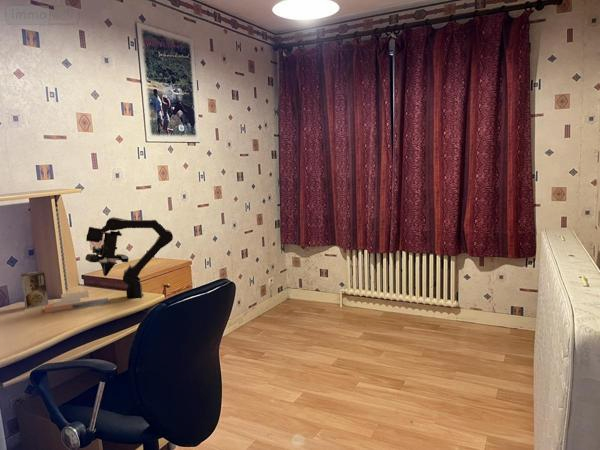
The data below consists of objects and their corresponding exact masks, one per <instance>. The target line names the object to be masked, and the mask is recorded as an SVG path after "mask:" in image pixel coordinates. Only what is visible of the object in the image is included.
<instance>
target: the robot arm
mask: <svg viewBox="0 0 600 450" xmlns="http://www.w3.org/2000/svg"><path fill="white" fill-rule="evenodd" d="M124 229H153V231H154V232H155V233H156V234H157V235H158V237H157V239H156V240H155V241H154V244H153V245H152V246H150V248H149V249H148V250H147V251H146V252H145V253H144V255H143V256H141V258H140V259H139V260H138V261H137V262H136V263H135V264H134V265H131V264H129V265H128V267H127V268H125V270H124V271H123V275H122V281H123V283H124V284H126V285H127V286H126V289H125V290H126V291H125V292H126V293H125V294H126V298H127V299H128V300H129V299H131V300H133V299H142V298H143V297H144V293H143V284H142V283H141V277H139V274H141V271H142V270H143V269H144V268H145V267H146V265H147V264H148V263H149V262H150V261H151V260H152V259H153V258H154V257H155V256H156V255H157V254H158V252H159V251H160V250H162V249H163V248H164V247H166V246H167V245H168V244H170V243H171V242H172V241H173V239H174V236H173V233H172V231H171V230H169V229H165V228H164V226H163V225H161V223H159V222H158V220H156V219H126V218H119V217H115V216H114V217H110V218H108V219H107V221H106V222H105V225H104V226H102V227H101V228H100V227H99V228H97V227H93V226H89V227H88V231H87V234H86V239H85V241H86V242H91V243H98V244H99V243H100V242H103V243H102V244H101V246H100V247H99V246H98V245H96V246H95V245H94V246H93V247H92V253H87V254H86V255H85V261H87V262H89V263H99V264H100V266H101V269H102V274H103V276H104V277H107V276H108V274H109V273H110V272H111V270H112V268H113V267H115V265H117V264H118V263H117V261H120V262H121V263H128V262H129V257H128V256H127V255H126V254H123V253H122V254H120V253H119V254H118V253H117V254H116V250H118V247H117V242H118V237H122V236H123V233H122V232H121V231H120V230H124ZM109 231H110V232H109Z"/></svg>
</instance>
